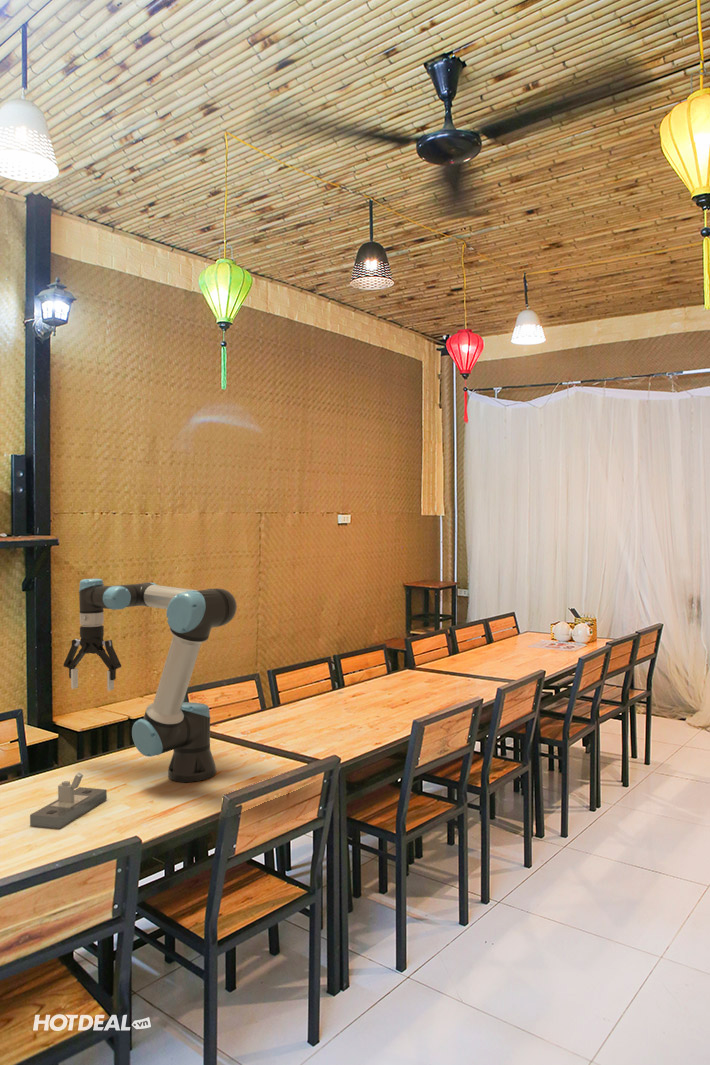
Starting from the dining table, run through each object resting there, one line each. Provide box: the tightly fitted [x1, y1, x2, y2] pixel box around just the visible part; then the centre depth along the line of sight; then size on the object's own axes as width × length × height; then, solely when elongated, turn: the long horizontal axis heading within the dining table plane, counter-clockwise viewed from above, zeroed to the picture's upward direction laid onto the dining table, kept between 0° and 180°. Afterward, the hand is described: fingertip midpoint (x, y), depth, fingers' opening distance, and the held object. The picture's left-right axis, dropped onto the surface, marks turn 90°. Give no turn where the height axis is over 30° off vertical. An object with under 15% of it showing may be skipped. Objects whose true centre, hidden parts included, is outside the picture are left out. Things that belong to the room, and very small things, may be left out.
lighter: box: [57, 771, 84, 802], centre depth 209 cm, size 7×2×8 cm, turn 76°
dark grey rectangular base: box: [29, 786, 108, 830], centre depth 209 cm, size 9×22×3 cm, turn 166°
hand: (92, 689), depth 247 cm, fingers open, 13 cm apart
